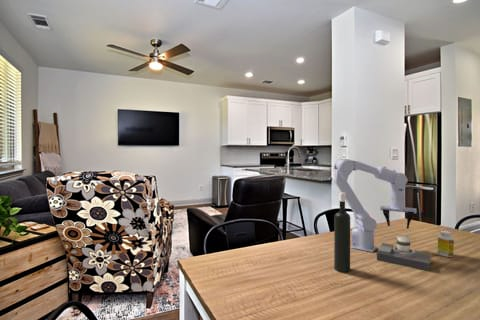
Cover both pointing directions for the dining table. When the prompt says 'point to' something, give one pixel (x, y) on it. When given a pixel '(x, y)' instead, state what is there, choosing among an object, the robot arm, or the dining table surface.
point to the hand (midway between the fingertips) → (398, 226)
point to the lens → (403, 243)
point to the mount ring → (411, 254)
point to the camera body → (404, 258)
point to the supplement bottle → (445, 244)
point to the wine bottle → (342, 238)
